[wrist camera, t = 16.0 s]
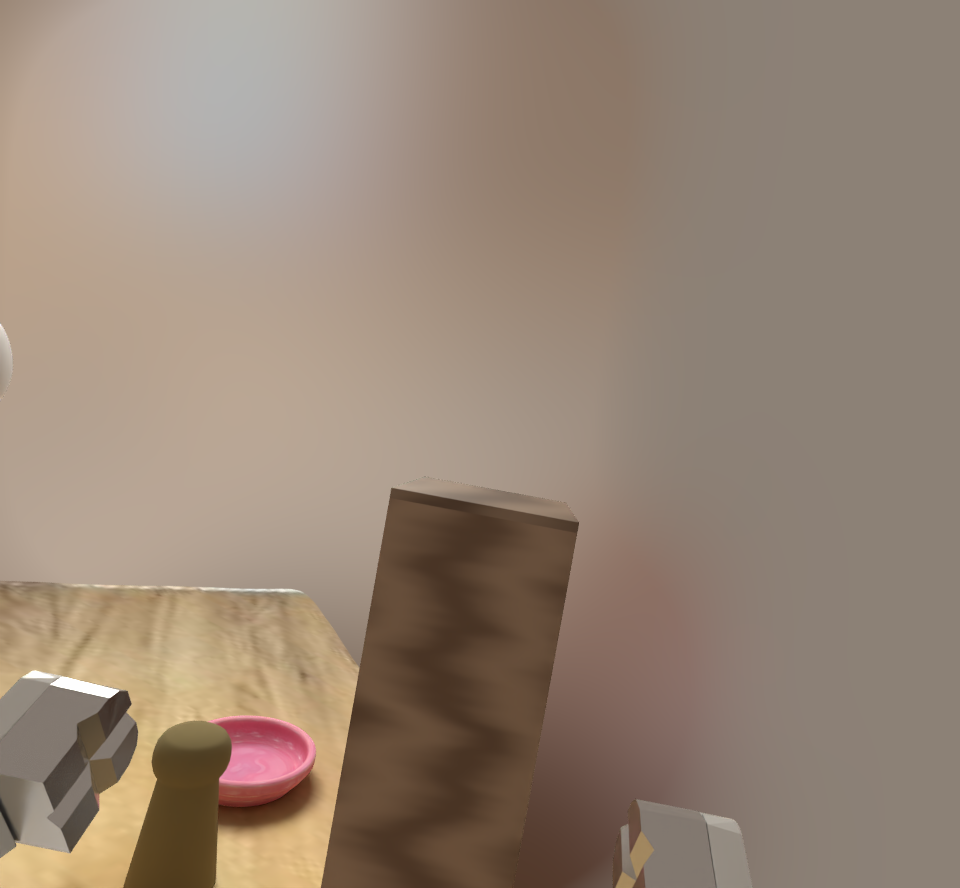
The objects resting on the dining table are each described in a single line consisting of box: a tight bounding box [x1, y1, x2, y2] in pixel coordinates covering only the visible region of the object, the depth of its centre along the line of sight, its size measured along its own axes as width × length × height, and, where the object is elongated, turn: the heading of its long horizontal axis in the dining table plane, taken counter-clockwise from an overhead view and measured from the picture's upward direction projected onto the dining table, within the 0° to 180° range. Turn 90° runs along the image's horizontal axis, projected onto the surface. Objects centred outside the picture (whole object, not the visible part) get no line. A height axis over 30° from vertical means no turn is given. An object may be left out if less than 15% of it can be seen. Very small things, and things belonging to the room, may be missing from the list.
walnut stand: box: [321, 477, 579, 888], centre depth 36 cm, size 9×10×32 cm
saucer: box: [208, 716, 316, 807], centre depth 60 cm, size 12×12×3 cm
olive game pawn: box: [123, 721, 232, 888], centre depth 46 cm, size 6×6×11 cm
